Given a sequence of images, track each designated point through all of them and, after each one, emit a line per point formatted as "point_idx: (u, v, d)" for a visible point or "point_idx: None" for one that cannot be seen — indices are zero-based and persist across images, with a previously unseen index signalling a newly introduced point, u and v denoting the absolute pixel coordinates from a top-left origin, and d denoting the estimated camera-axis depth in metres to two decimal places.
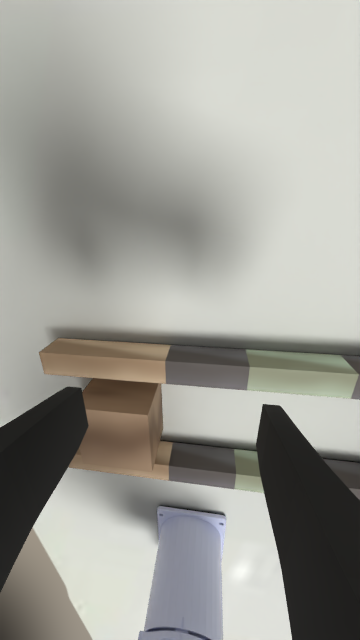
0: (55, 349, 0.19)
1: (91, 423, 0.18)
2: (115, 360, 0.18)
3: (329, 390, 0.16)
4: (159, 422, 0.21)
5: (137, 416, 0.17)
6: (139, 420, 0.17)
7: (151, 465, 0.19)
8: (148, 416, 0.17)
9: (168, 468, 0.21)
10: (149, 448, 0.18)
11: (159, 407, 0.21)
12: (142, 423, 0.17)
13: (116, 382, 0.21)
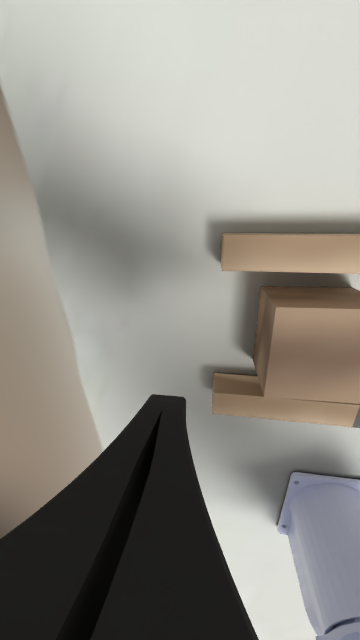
0: (240, 234, 0.14)
1: (302, 330, 0.13)
2: (340, 239, 0.13)
3: None
4: None
5: None
6: None
7: None
8: None
9: (358, 409, 0.16)
10: None
11: None
12: None
13: (300, 291, 0.15)
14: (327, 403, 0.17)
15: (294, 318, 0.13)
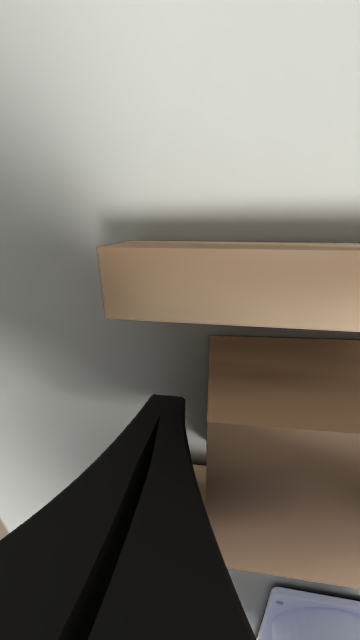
0: (140, 246, 0.07)
1: (271, 469, 0.06)
2: (352, 260, 0.05)
3: None
4: None
5: None
6: None
7: None
8: None
9: None
10: None
11: None
12: None
13: (277, 351, 0.08)
14: None
15: (250, 445, 0.05)
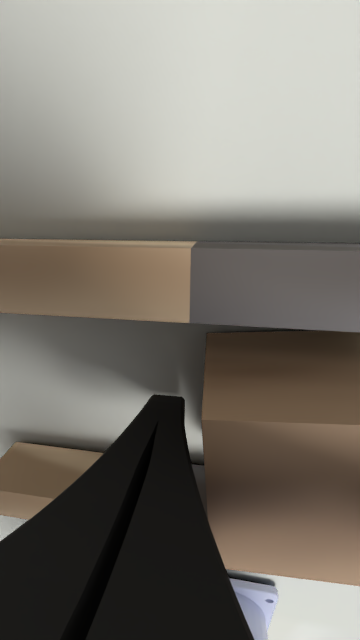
0: None
1: (271, 465, 0.05)
2: (49, 254, 0.06)
3: None
4: None
5: None
6: None
7: None
8: None
9: None
10: None
11: None
12: None
13: (274, 346, 0.08)
14: None
15: (247, 441, 0.05)
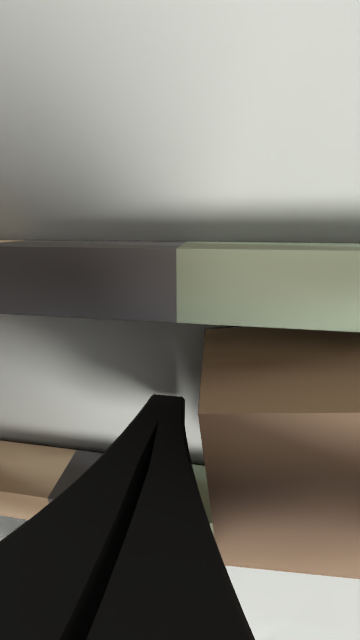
0: None
1: (271, 458, 0.05)
2: None
3: None
4: None
5: None
6: None
7: None
8: None
9: (48, 503, 0.11)
10: None
11: None
12: None
13: (273, 338, 0.08)
14: (6, 493, 0.11)
15: (246, 434, 0.05)
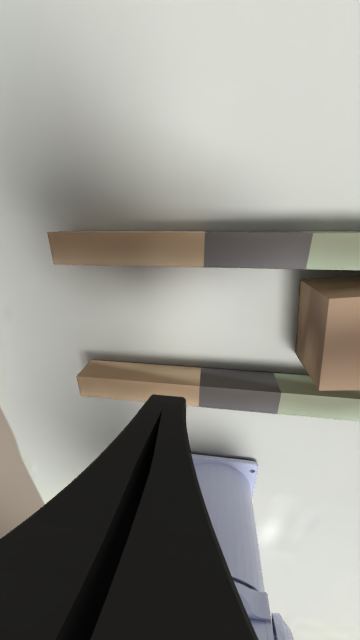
0: None
1: (357, 320, 0.13)
2: (141, 236, 0.14)
3: None
4: None
5: None
6: None
7: None
8: None
9: (199, 389, 0.18)
10: None
11: None
12: None
13: (344, 281, 0.15)
14: (172, 384, 0.18)
15: (348, 308, 0.13)
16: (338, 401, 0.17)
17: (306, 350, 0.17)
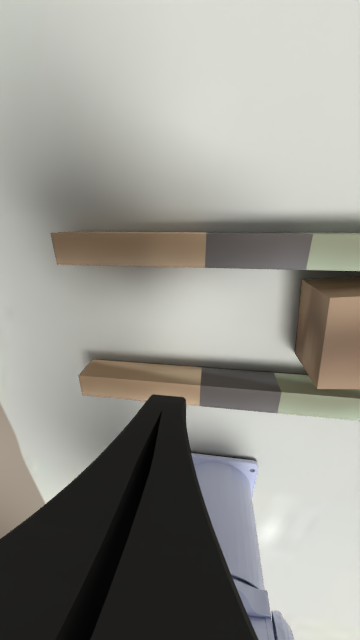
0: (70, 232, 0.16)
1: (357, 319, 0.13)
2: (144, 237, 0.15)
3: None
4: None
5: None
6: None
7: None
8: None
9: (200, 389, 0.18)
10: None
11: None
12: None
13: (345, 281, 0.16)
14: (173, 384, 0.19)
15: (348, 307, 0.13)
16: (337, 401, 0.17)
17: (305, 349, 0.17)
